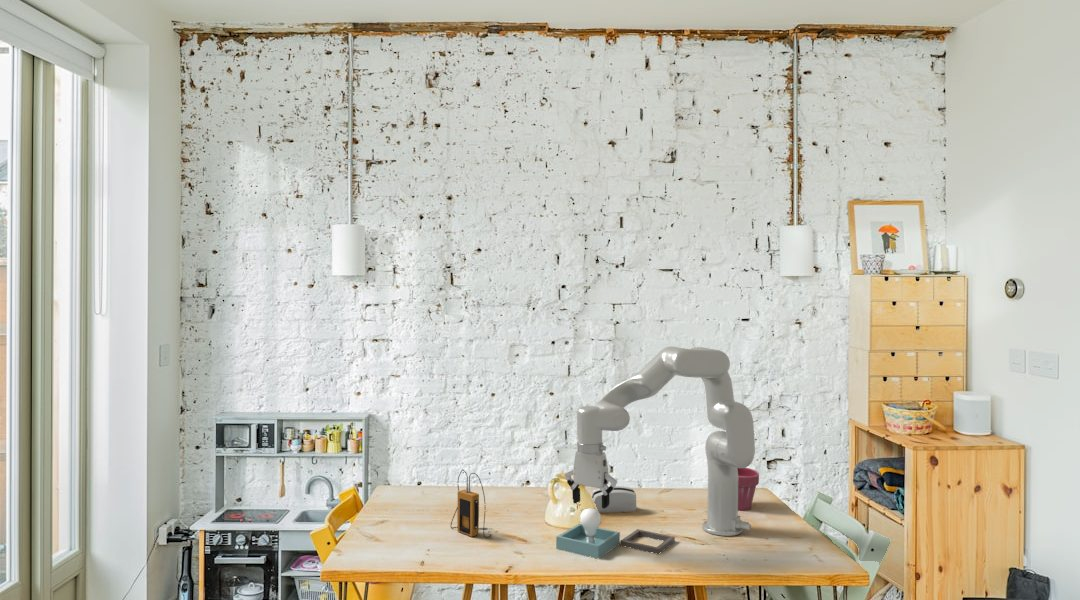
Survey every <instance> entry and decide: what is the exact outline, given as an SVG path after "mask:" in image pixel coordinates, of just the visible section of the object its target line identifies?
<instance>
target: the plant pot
mask: <svg viewBox="0 0 1080 600" xmlns="http://www.w3.org/2000/svg"><path fill="white" fill-rule="evenodd" d="M737 470H738V511H748V510H750V509H751V508H752V504H753V500H754V496H755V493H756V492H755V491H756V487H757V486H758V485H759V483H760V474H759V472H758V471H757V470H755V469H753V468H749V467H745V468H737Z"/></svg>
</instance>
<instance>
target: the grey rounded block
mask: <svg viewBox="0 0 1080 600" xmlns="http://www.w3.org/2000/svg"><path fill="white" fill-rule="evenodd" d="M608 487H610V485H608ZM602 495H603V493H602V491H601V490H600V488H596V489H594V490H592V493H591V495H590V496H591V497H592V498H593V500H594V503H595V504H596V507H597V509H598V511H599V512H600V514H601V513H620V512H622V511H623V512H636V511H637V494H636V491H635V490H634V489H633V488H631V487H629V486H628V487H627V486H623V485H616V486H615V488H614V490H612V491H611V493H609V500H610V503H609V506H608V507H606V508H605V509H604V508H602ZM591 497H590V498H591Z"/></svg>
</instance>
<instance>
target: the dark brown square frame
mask: <svg viewBox="0 0 1080 600" xmlns="http://www.w3.org/2000/svg"><path fill="white" fill-rule="evenodd" d="M639 536H640V537H644V538H648V537H649V538H650V539H653V540H657V539H659V540H658V541H662V540H663V542H661V543H660V544H659V545H658V546H654V545H649V544H648V545H647V544H644V543H639V542H634V540H635V539H637V538H638V537H639ZM636 537H637V538H636ZM649 538H648V539H649ZM675 539H676V537H675V536H673V535H667V534H662V533H659V532H658V533H657V532H653V531H648V530H643V529H639V528H637V529H636V530H634V531H632V532H631V533H630V534H628V535H626V537H624V538H623V539H620V544H619V546H620V545H622V546H621V547H624V546H626V547H625V548H628V547H631V548H630V549H633V548H634V550H637V549H639V551H642V550H643V552H646V551H648V552H647V553H651V552H653V553H652V554H655V553H657V554H656V555H660V554H661V553H662V552H663V550H664V549H665V550H666V549H668V548H669V547H670V546H671V545H673V544H674V543H675V542H676V541H675ZM673 542H674V543H673ZM669 545H670V546H669ZM668 546H669V547H668ZM665 550H664V551H665ZM660 552H661V553H660ZM659 553H660V554H659Z"/></svg>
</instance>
